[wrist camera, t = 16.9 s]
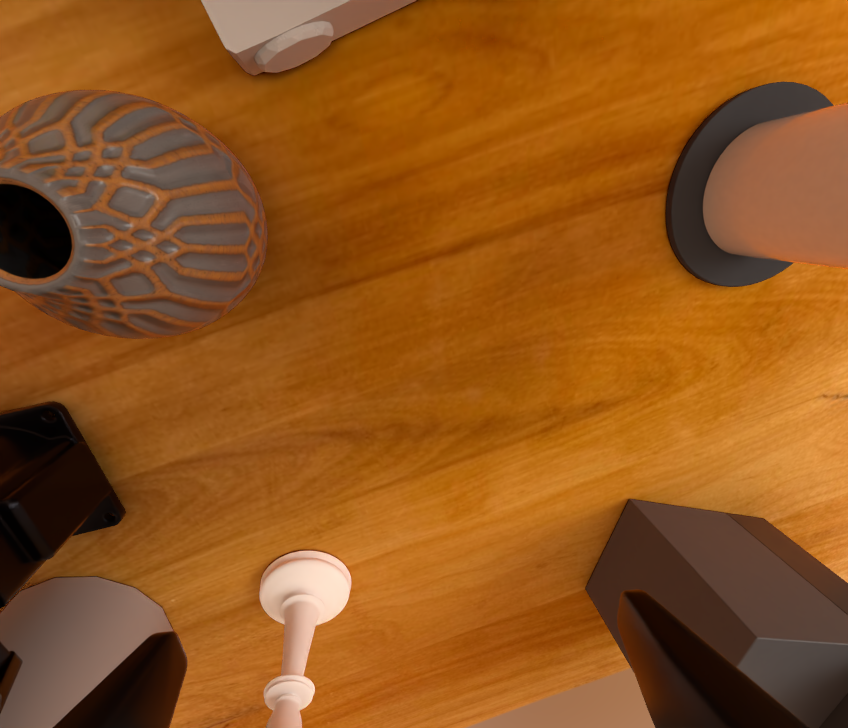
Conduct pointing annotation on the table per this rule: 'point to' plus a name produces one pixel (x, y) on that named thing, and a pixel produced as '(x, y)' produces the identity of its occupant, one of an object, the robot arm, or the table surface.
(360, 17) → the camera
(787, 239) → the white cup
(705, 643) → the robot arm
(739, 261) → the coaster
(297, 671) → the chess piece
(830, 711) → the coffee maker
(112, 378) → the table surface
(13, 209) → the vase
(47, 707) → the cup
